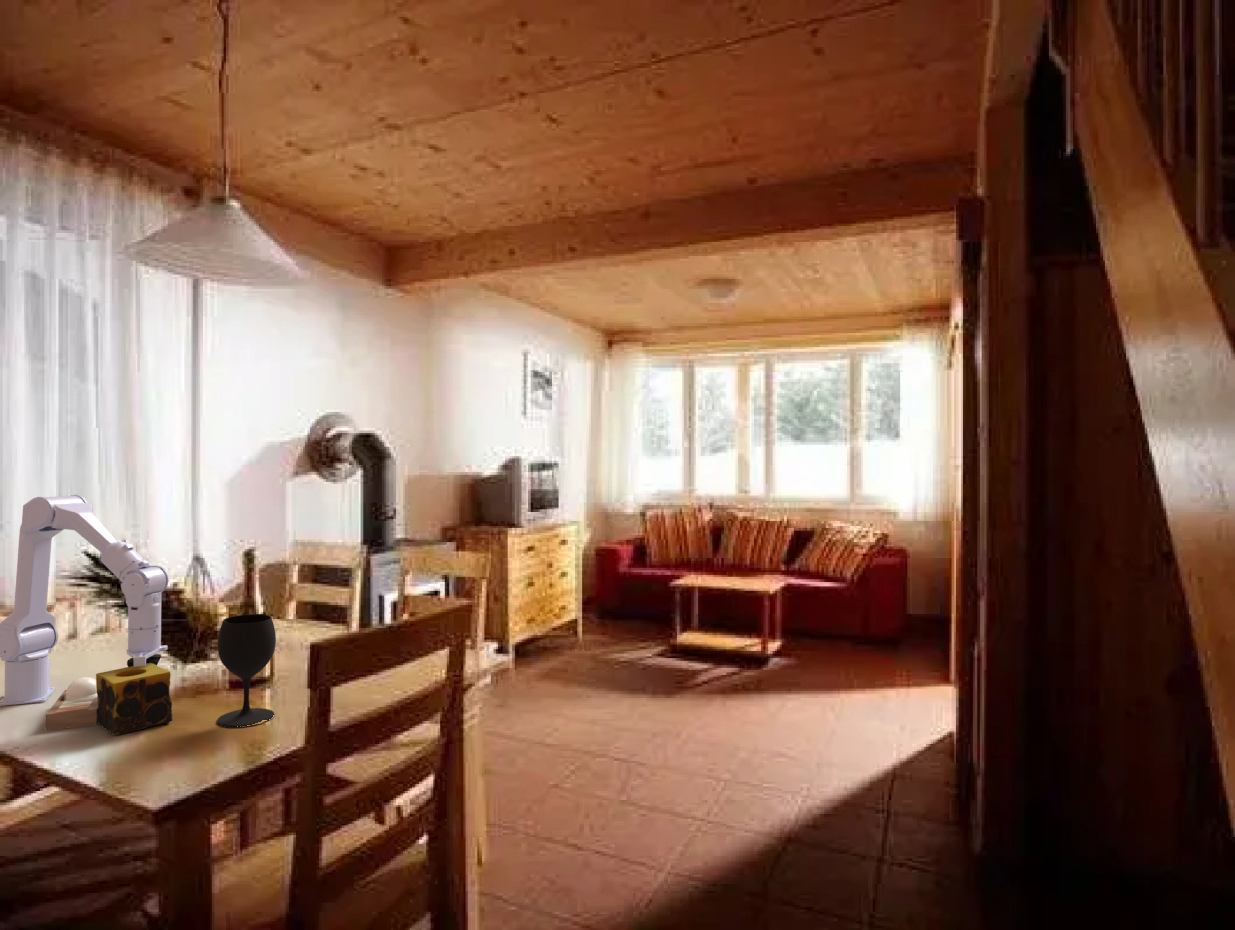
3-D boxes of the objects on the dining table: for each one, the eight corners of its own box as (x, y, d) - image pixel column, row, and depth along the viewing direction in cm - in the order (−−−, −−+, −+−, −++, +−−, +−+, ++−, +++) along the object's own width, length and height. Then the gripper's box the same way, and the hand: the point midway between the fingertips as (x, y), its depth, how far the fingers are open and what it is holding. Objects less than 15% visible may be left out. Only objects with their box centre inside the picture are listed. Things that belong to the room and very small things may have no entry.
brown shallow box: (64, 704, 157) (65, 689, 157) (110, 699, 160) (111, 684, 160) (45, 730, 142) (45, 713, 142) (96, 724, 146) (96, 708, 146)
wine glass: (259, 706, 158) (261, 611, 158) (284, 718, 151) (285, 618, 151) (207, 719, 150) (208, 618, 150) (230, 732, 143) (232, 627, 143)
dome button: (69, 704, 156) (69, 675, 156) (103, 700, 158) (104, 672, 158) (62, 713, 150) (62, 683, 150) (98, 709, 153) (98, 680, 153)
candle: (173, 722, 147) (172, 671, 147) (113, 737, 140) (113, 683, 139) (153, 709, 154) (153, 661, 154) (95, 723, 146) (95, 672, 146)
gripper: (163, 632, 150) (162, 701, 150) (170, 617, 163) (170, 680, 163) (121, 635, 146) (120, 705, 147) (132, 620, 160) (131, 684, 160)
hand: (143, 692), depth 155 cm, fingers closed
